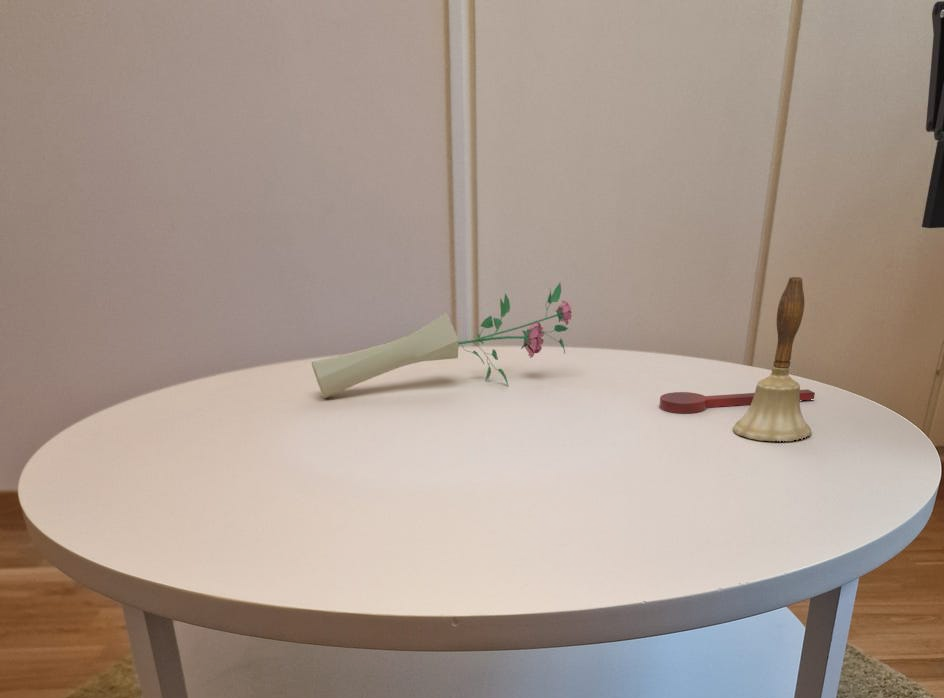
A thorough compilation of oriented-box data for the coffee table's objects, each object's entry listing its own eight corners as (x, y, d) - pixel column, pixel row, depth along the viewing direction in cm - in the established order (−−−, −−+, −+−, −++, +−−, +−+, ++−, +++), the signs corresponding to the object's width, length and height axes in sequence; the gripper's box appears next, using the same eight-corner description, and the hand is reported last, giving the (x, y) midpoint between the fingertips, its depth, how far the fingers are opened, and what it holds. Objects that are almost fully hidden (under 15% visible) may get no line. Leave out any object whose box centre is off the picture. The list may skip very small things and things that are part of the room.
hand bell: (750, 417, 103) (769, 271, 95) (821, 428, 98) (848, 275, 91) (720, 435, 97) (738, 280, 90) (795, 447, 93) (821, 285, 85)
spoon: (799, 393, 112) (801, 384, 111) (821, 404, 107) (823, 394, 107) (653, 403, 110) (654, 393, 109) (668, 414, 105) (669, 404, 105)
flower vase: (338, 444, 124) (566, 366, 128) (343, 442, 112) (594, 356, 116) (308, 361, 121) (542, 283, 125) (310, 350, 109) (568, 265, 113)
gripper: (918, -101, 70) (867, 224, 82) (1006, -151, 59) (932, 235, 70) (1013, -107, 70) (949, 219, 82) (1119, -158, 59) (1027, 230, 70)
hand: (941, 226), depth 76 cm, fingers closed
